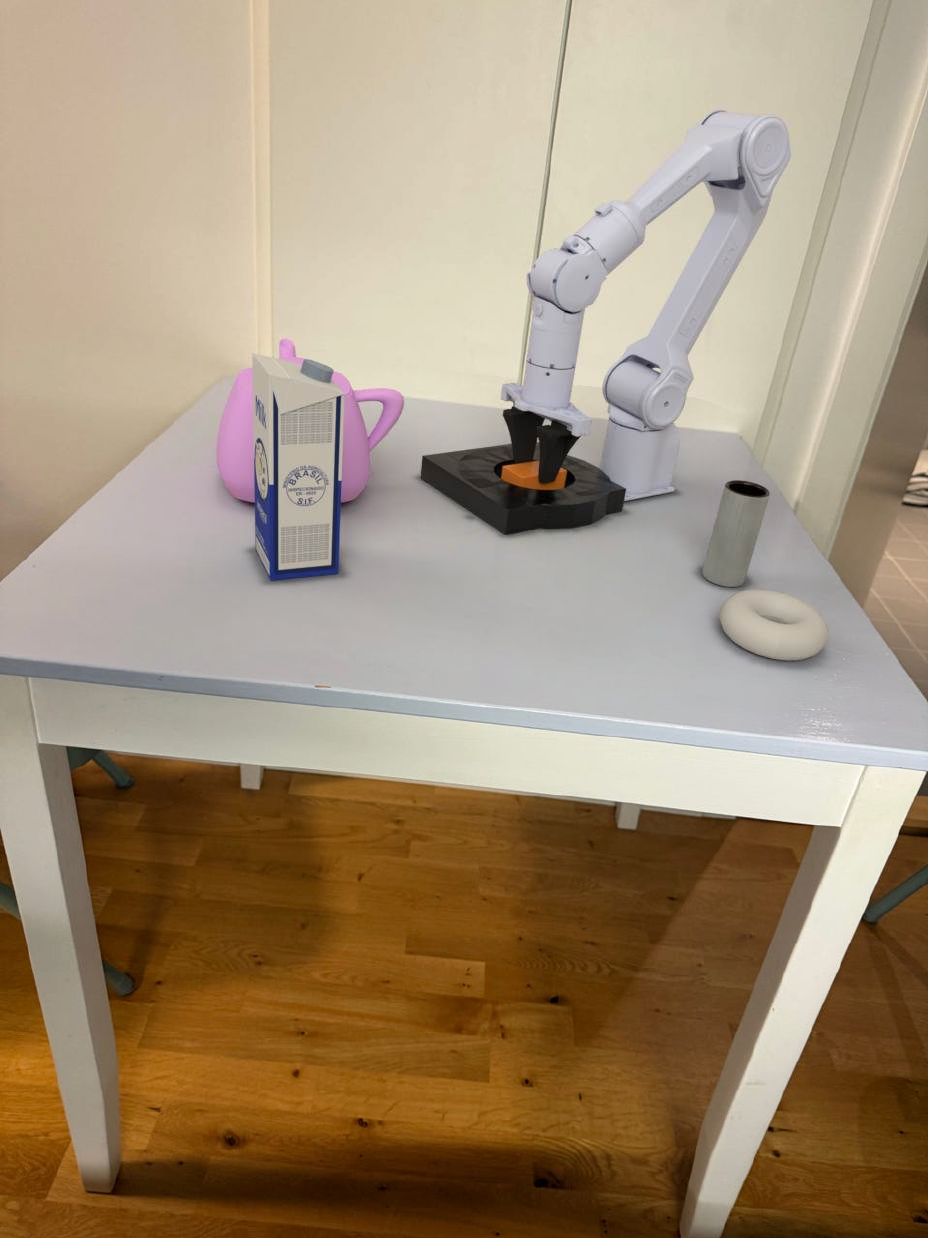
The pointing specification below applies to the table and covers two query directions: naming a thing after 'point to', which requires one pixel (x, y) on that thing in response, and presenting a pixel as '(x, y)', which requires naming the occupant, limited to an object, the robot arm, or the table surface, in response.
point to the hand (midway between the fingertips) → (534, 474)
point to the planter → (735, 532)
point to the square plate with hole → (521, 490)
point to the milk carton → (297, 467)
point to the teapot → (357, 446)
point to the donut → (774, 624)
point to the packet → (531, 476)
